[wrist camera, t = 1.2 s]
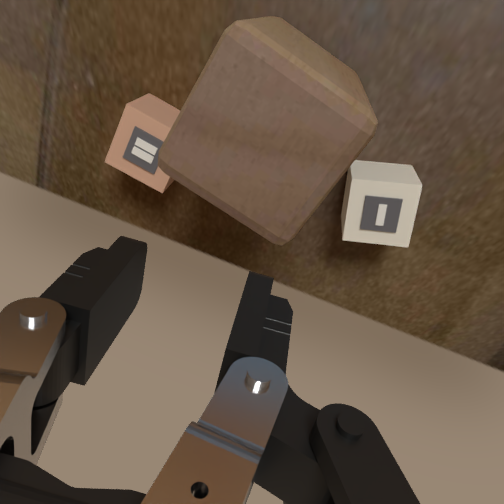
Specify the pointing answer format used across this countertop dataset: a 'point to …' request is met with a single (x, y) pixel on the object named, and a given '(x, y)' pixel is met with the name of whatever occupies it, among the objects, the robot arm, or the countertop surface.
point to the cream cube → (380, 203)
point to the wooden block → (268, 127)
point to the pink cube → (143, 140)
